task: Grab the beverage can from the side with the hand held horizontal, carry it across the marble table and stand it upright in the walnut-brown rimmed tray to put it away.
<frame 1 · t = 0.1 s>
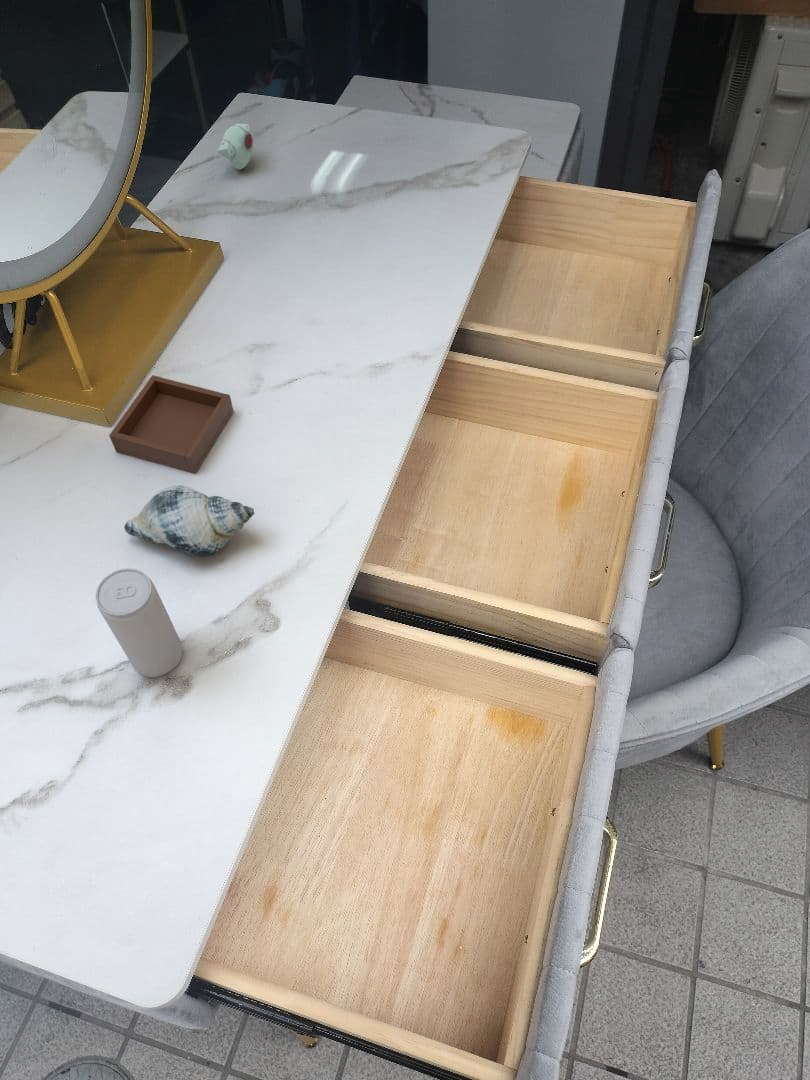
seashell: (194, 538, 85), on the table
tray: (176, 431, 93), on the table
beverage can: (158, 657, 77), on the table
robot head: (243, 170, 124), on the table
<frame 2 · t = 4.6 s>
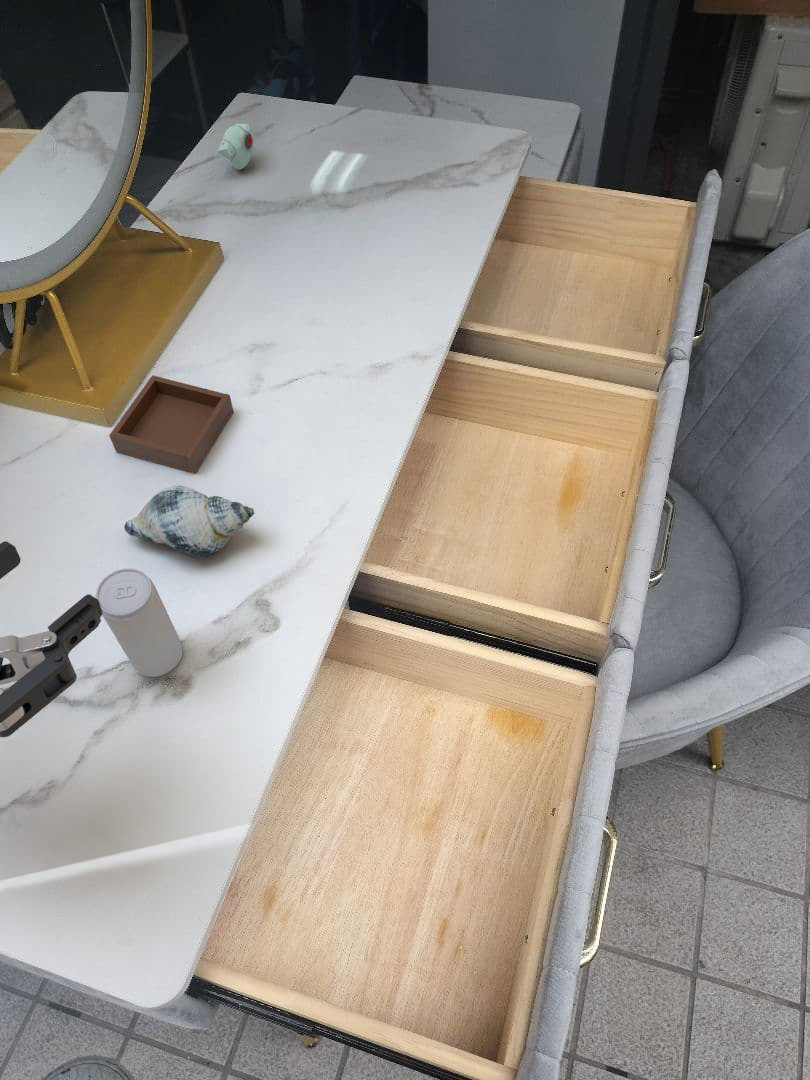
hand: (54, 576, 59), 20 cm above the table, tool horizontal, fingers open, 8 cm apart
nothing on the table moved.
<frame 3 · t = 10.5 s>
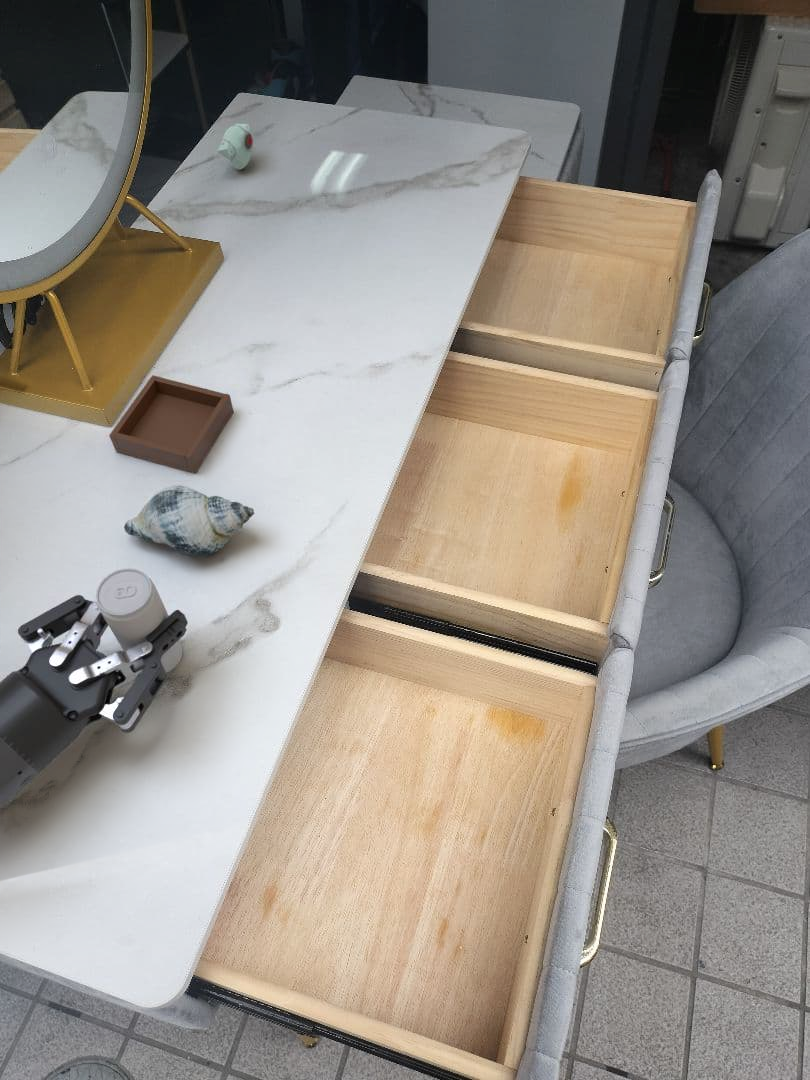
hand: (161, 600, 73), 7 cm above the table, tool horizontal, fingers closed on beverage can, 4 cm apart
beverage can: (158, 657, 77), on the table, touching gripper
everything else where it was.
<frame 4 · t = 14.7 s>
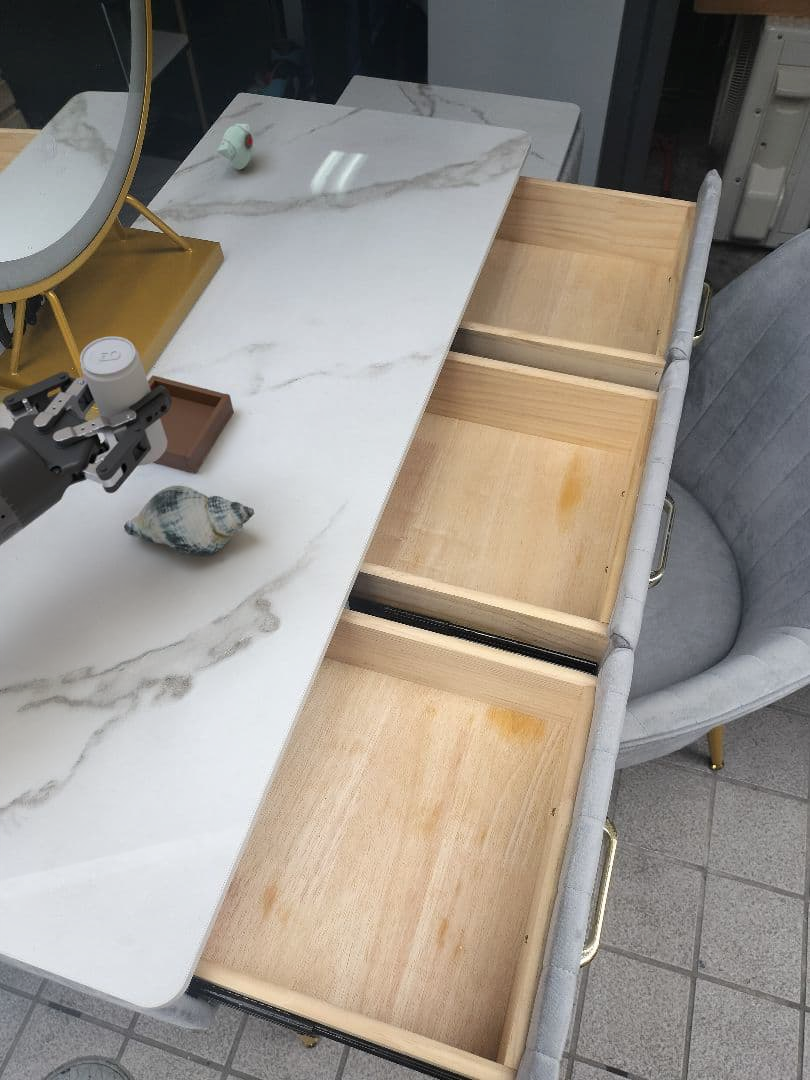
hand: (146, 380, 73), 18 cm above the table, tool horizontal, fingers closed on beverage can, 4 cm apart
beverage can: (143, 450, 78), point 10 cm above the table, touching gripper
everything else where it was.
when the fingers open (8 cm above the table, at t = 19.4 s): beverage can stays where it is, resting on tray.
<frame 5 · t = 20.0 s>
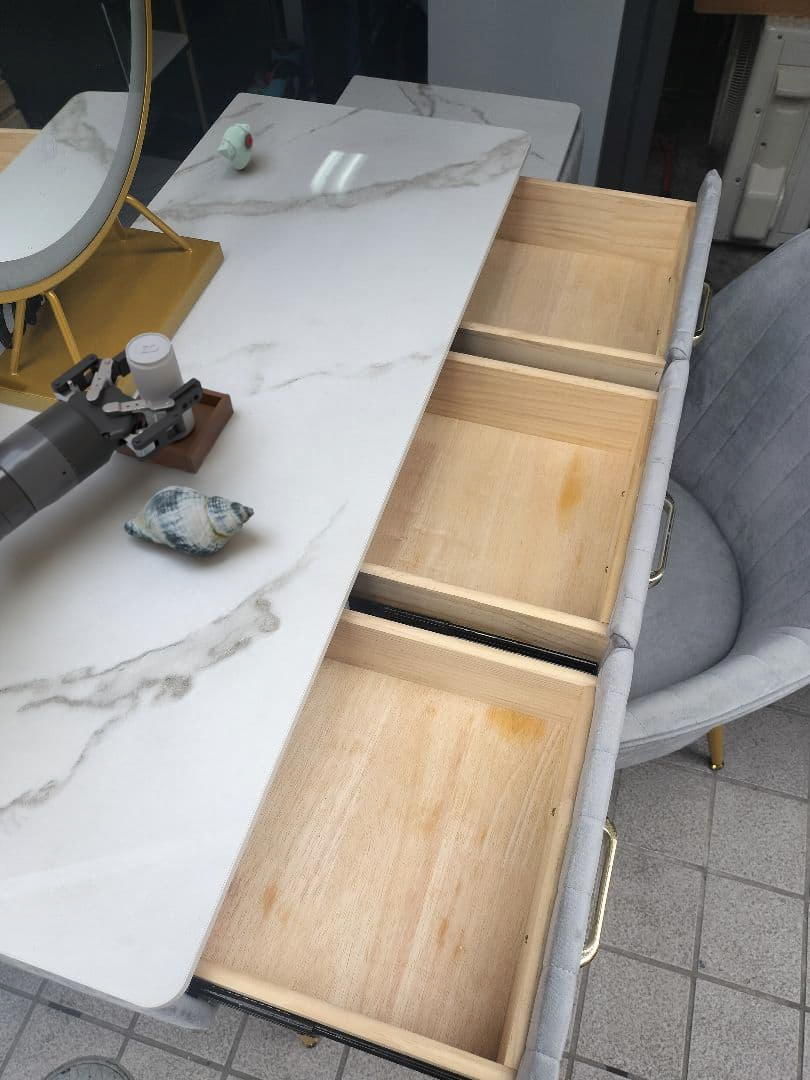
hand: (171, 367, 87), 9 cm above the table, tool horizontal, fingers open, 8 cm apart
beverage can: (174, 429, 93), point 1 cm above the table, touching tray
everything else where it was.
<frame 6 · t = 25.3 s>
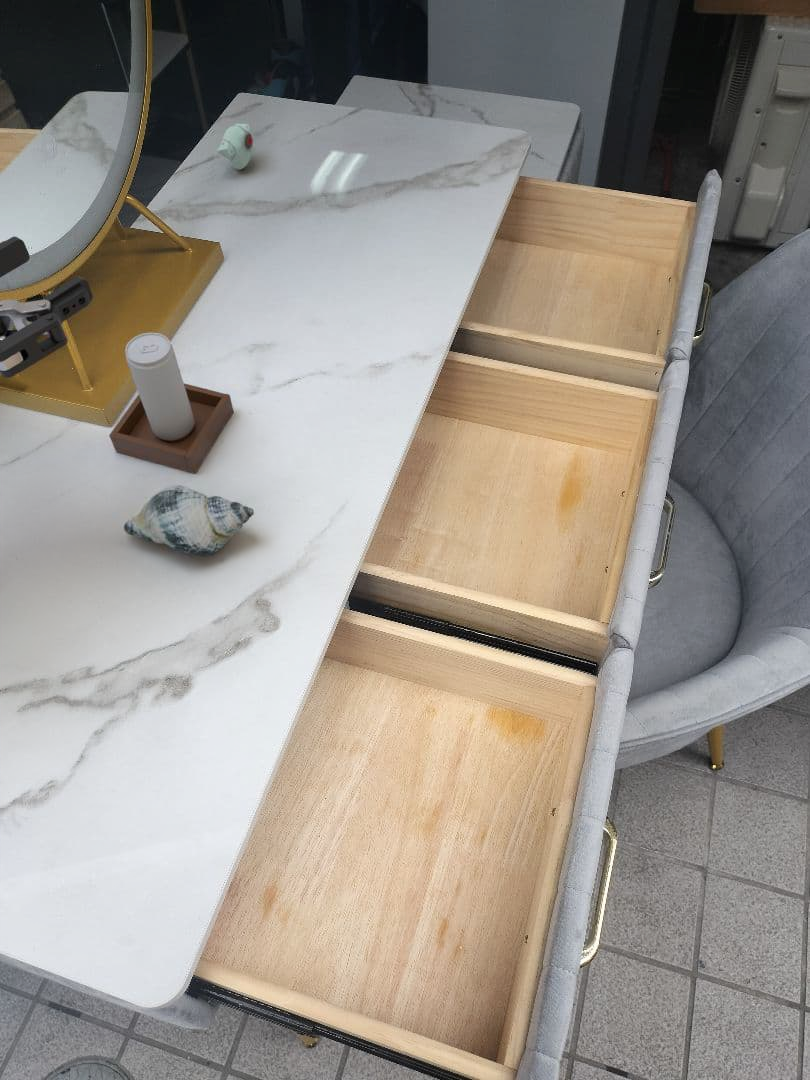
hand: (55, 266, 69), 26 cm above the table, tool horizontal, fingers open, 8 cm apart
nothing on the table moved.
at the end: beverage can 0.2 cm off-centre in the tray, point 0.6 cm above the tray's base; beverage can tilted 0°; the gripper is holding nothing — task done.
